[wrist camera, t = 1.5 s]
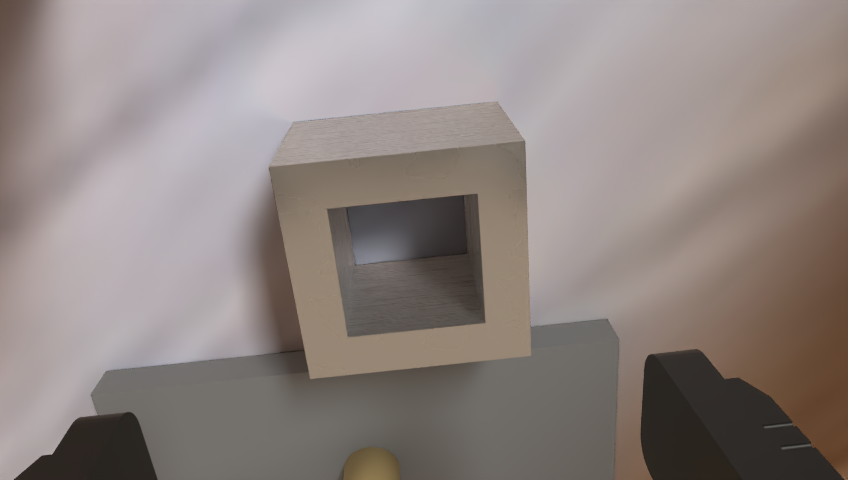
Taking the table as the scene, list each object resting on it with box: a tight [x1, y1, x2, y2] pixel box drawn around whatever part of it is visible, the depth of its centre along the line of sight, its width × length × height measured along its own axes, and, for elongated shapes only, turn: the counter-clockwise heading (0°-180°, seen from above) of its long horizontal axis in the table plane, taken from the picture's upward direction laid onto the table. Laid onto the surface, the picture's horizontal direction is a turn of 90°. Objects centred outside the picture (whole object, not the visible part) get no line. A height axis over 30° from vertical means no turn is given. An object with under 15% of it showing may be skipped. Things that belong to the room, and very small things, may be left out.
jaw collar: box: [269, 102, 531, 379], centre depth 17 cm, size 6×6×4 cm
